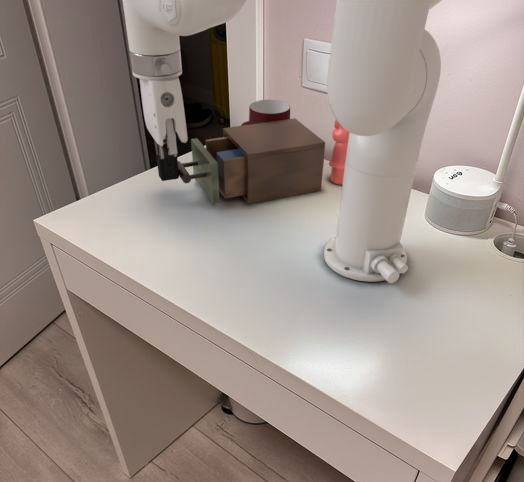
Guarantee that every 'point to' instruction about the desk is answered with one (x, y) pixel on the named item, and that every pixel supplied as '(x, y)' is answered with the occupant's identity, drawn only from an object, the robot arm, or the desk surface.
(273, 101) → the mug
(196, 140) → the drawer
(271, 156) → the cabinet
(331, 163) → the figurine
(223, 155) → the block
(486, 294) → the desk surface
